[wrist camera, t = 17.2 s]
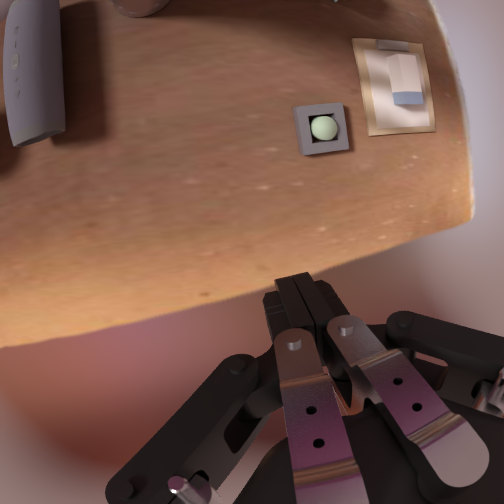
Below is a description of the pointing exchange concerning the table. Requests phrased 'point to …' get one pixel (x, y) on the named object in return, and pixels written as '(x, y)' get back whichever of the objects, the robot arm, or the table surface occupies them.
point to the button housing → (305, 134)
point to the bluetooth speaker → (33, 71)
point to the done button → (323, 128)
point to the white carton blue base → (404, 79)
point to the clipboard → (380, 91)
